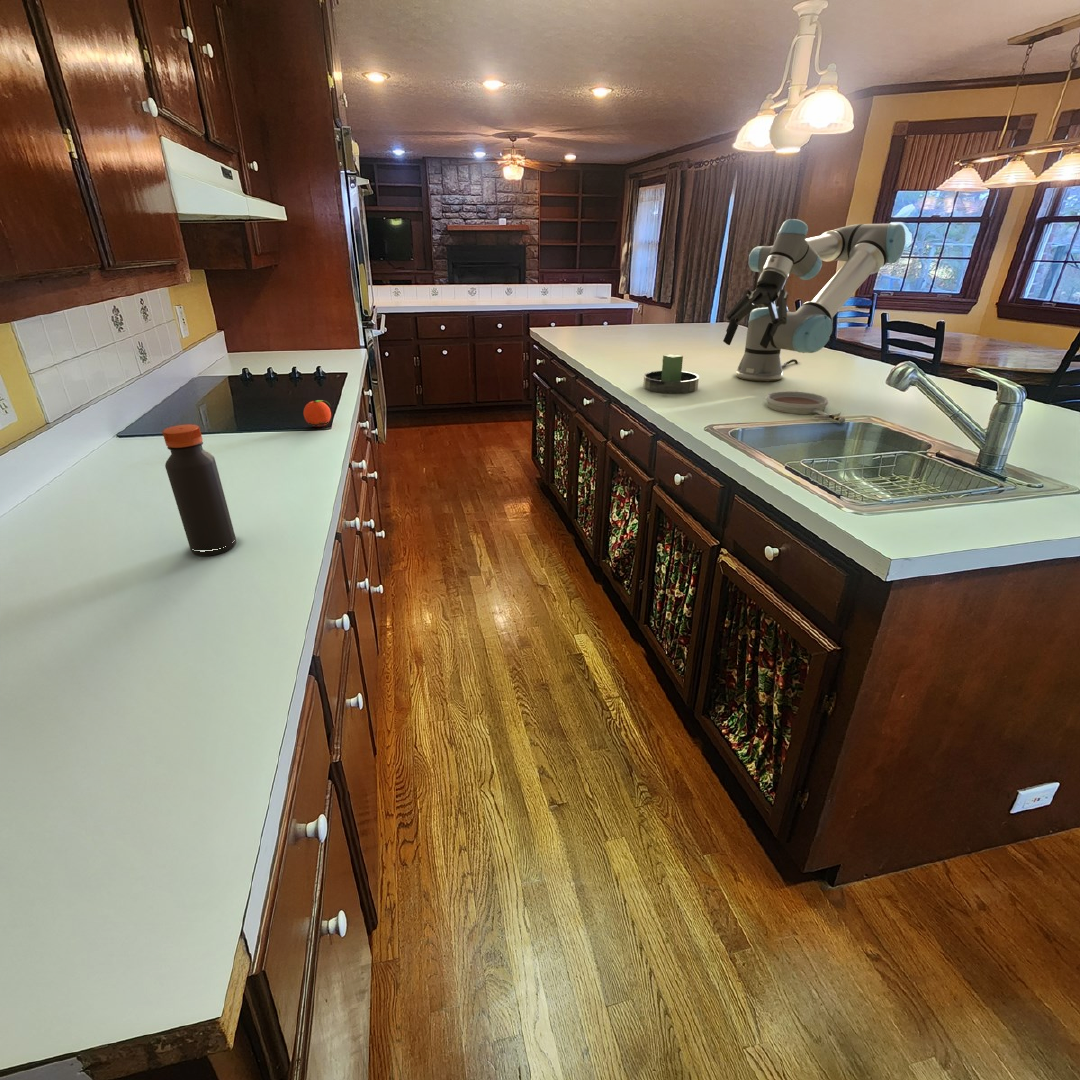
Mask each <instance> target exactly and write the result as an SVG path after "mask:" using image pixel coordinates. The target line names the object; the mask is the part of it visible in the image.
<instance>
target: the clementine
mask: <svg viewBox="0 0 1080 1080" xmlns="http://www.w3.org/2000/svg"><path fill="white" fill-rule="evenodd" d="M325 402H326V403H327V404H328V405H329V406H331V404H330V403H329V402H328V401H327V400H323V399H317V400H316V399H314V400H312V401H309V402H308V403H307V404H306V405H305V406H304V408H303V418H304V420H305V422H306V423H307V424H309V423H311V424H319V423H327V422H328V423H330V421H331V418H332V412H331V408H330V407H329V406H328V405H327V404H326V403H325ZM328 423H327V424H328ZM327 424H324V425H317V426H315V425H311V426H312V427H315V428H323V427H325V426H326V425H327Z"/></svg>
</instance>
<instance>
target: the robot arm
mask: <svg viewBox="0 0 1080 1080" xmlns="http://www.w3.org/2000/svg"><path fill="white" fill-rule="evenodd" d="M808 231H809V226H808V225H807V223H806V222H804V221H803V220H800V219H797V218H789V219H786V220H785V221H783V223H782V225H781V226H780V228H779V230H778V232H777V234H776V237H775V239H774V243H773V245H761V246H756V247H754V248H753V249H751V251H750V253H749V255H748V267H749V269H750V270H751V271H752V272H757V273H760V274H759V277H758V279H757V282H756V288H755V290H753V291H751V290H750V289H746V290H745V292H744V293H743V295H742V296H741V298H740V299H739V300H738V302H737V303H736V304H735V305H734V306H733V307H732V309H731V310H730V311H729V312H728V314H727V315H726V316H725V318H726V319H727V320H728V321H729V322H728V325H727V327H726V331H725V332H726V334H725V335H724V338H723V343H725V344H726V345H727V346H730V345H731V344H732V341H733V339H734V337H735V334H736V332H737V330H738V327H739V324H738V323H739V322H740V321H741V320H743V319H744V318H746V316H748V314H749V317H748V321H747V331H746V339H745V347H744V353H743V356H742V358H741V360H740V362H739V364H738V366H737V369H736V372H735V377H736V378H738V379H741V380H745V381H750V382H751V381H752V382H775V381H780V380H781V379H782V377H783V369H784V368H786V367H787V365H789V364H792V363H794V364H799V362H798V359H793V358H792V359H789V360H787V361H786V362H784V363H783V365H782V359H781V350H785V351H790V352H791V351H792V352H797V353H802V354H814V353H817V352H820V350H822V349H823V348H824V347H825V346H826V345H827V343H828V342H829V341H830V339H831V338H830V336H832V334H833V324H834V323H833V322H834V320H833V319H834V317H835V315H837V313H838V312H839V311H840V310H841V309H842V308H843V306H844V305H845V304H846V303H847V302H848V300H849V299H850V298H851V297H852V296H853V295H854V294H855V293H856V292H857V290H858V289H859V288H860V287H861V285H863V283H864V282H865V281H866V280H867V279H868V278H869V277H870V275H874V274H876V273H878V272H879V271H881V270H882V269H883V268H884V266H885V265H886V264H889V265H892V264H896V263H898V262H899V261H900V259H901V258H902V256H903V254H904V252H905V247H906V240H907V233H906V229H905V227H904V225H902V224H901V223H893V222H889V223H855V224H851V225H846V226H842V227H838V228H835V229H830V230H827V231H824V232H823V233H822V234H821V235H817V236H812V237H807V234H808ZM806 237H807V238H806ZM822 261H823V262H827V263H828V262H833V261H835V262H836V261H837V262H838V261H839V262H844V264H843V265H842V266H841V267H840V269H839V270H837V272H836V273H835V274H834V275H833V276H832V277H831V278H830V280H829V281H828V282H827V283H826V284H825V285H824V286H823V287H822V289H821V290H820V291H819V292H818V293H817V294H816V295H815V297H814V298H813V299H812V300H811V301H806V302H804V303H802V304H801V305H800V306H799V308H798V309H797V310H796V311H789V309H788V305H787V304H788V303H787V301H788V298H789V292H788V291H786V290H785V289H784V286H785V284H786V282H787V279H788V277H789V276H790V274H791V275H792V274H793V275H796V276H797V278H799V279H800V280H802V281H809V280H811V279H813V278H815V276H817V275H818V274H819V272H820V271H821V270H822V269H821V268H822V266H823V262H822ZM777 299H778V301H777V304H778V305H776V300H777Z"/></svg>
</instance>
